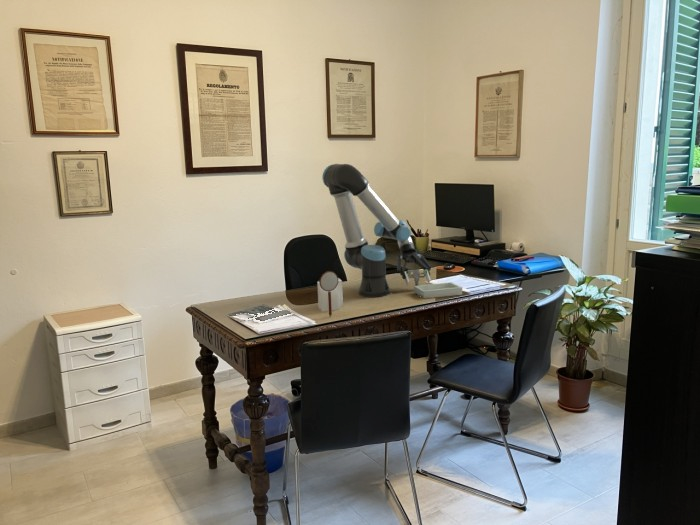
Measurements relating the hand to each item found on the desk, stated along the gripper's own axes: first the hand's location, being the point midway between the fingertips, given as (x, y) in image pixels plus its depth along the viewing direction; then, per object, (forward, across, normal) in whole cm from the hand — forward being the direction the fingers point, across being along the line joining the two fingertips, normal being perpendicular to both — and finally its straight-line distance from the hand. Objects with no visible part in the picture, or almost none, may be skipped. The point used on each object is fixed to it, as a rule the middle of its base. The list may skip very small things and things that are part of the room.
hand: (418, 282), depth 276 cm
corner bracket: (+12, +48, +6) cm, 50 cm away
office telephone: (+12, +80, +5) cm, 81 cm away
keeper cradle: (+9, -6, +4) cm, 12 cm away
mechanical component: (+1, 0, -5) cm, 5 cm away
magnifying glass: (+22, +52, +16) cm, 59 cm away
